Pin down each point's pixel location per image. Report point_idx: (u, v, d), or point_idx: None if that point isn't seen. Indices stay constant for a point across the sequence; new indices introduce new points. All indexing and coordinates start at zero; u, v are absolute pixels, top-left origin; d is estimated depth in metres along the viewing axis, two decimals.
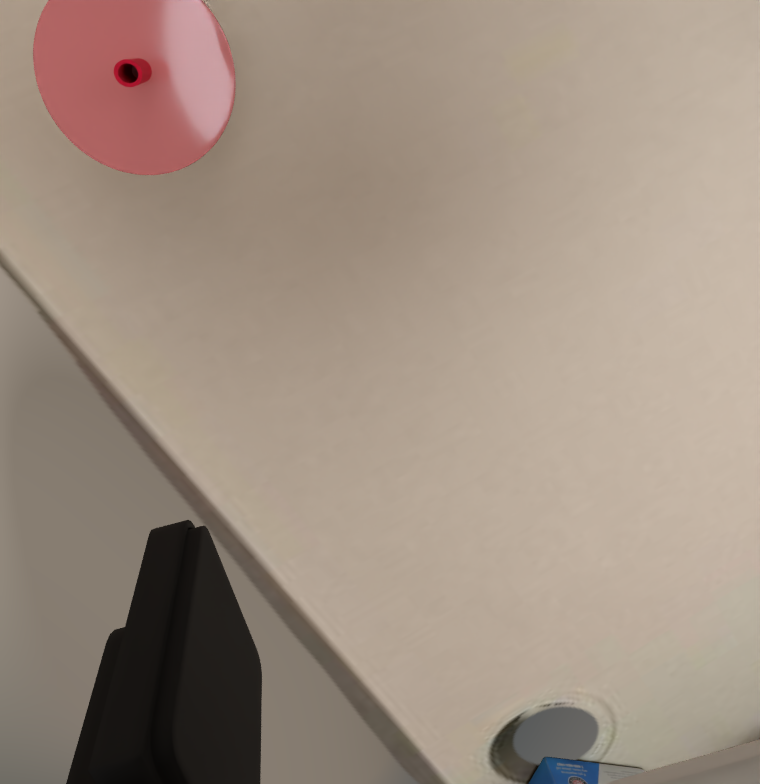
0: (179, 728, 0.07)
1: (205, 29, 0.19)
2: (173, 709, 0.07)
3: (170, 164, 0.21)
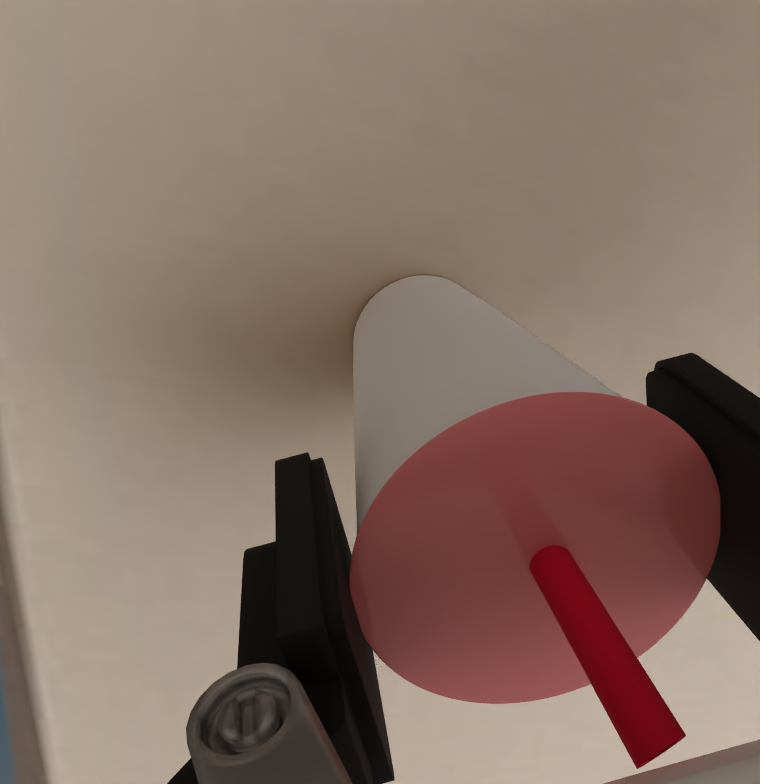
0: (343, 611, 0.08)
1: (689, 562, 0.10)
2: (338, 593, 0.08)
3: (471, 691, 0.11)
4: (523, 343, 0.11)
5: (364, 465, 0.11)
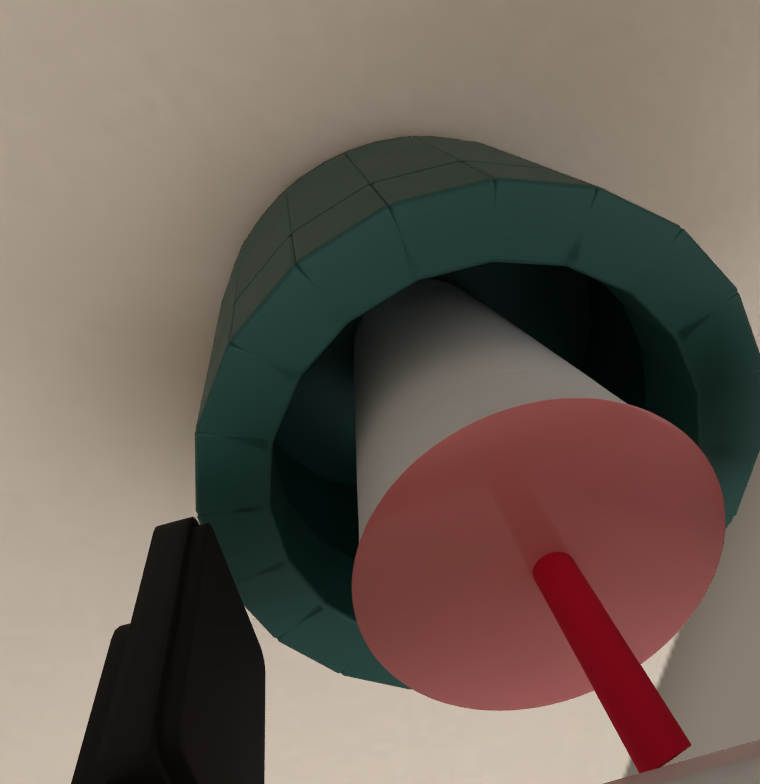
0: (185, 722, 0.07)
1: (693, 568, 0.10)
2: (179, 703, 0.07)
3: (474, 698, 0.11)
4: (525, 348, 0.11)
5: (366, 471, 0.11)
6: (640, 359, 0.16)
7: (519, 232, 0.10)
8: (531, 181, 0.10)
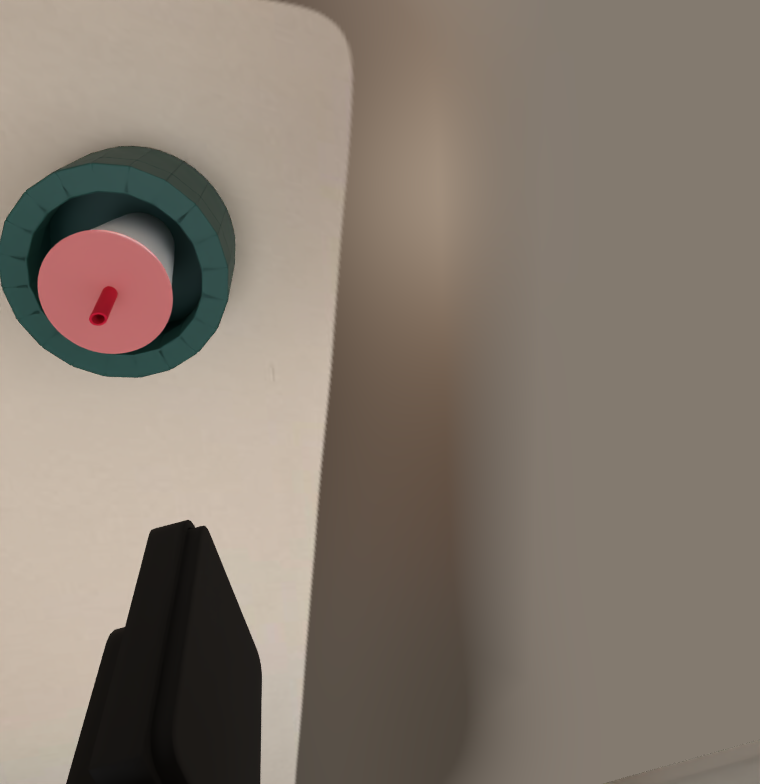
0: (179, 728, 0.07)
1: (162, 296, 0.30)
2: (173, 709, 0.07)
3: (94, 347, 0.30)
4: (121, 225, 0.31)
5: None
6: None
7: (104, 181, 0.30)
8: (104, 163, 0.29)
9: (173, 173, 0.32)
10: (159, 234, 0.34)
